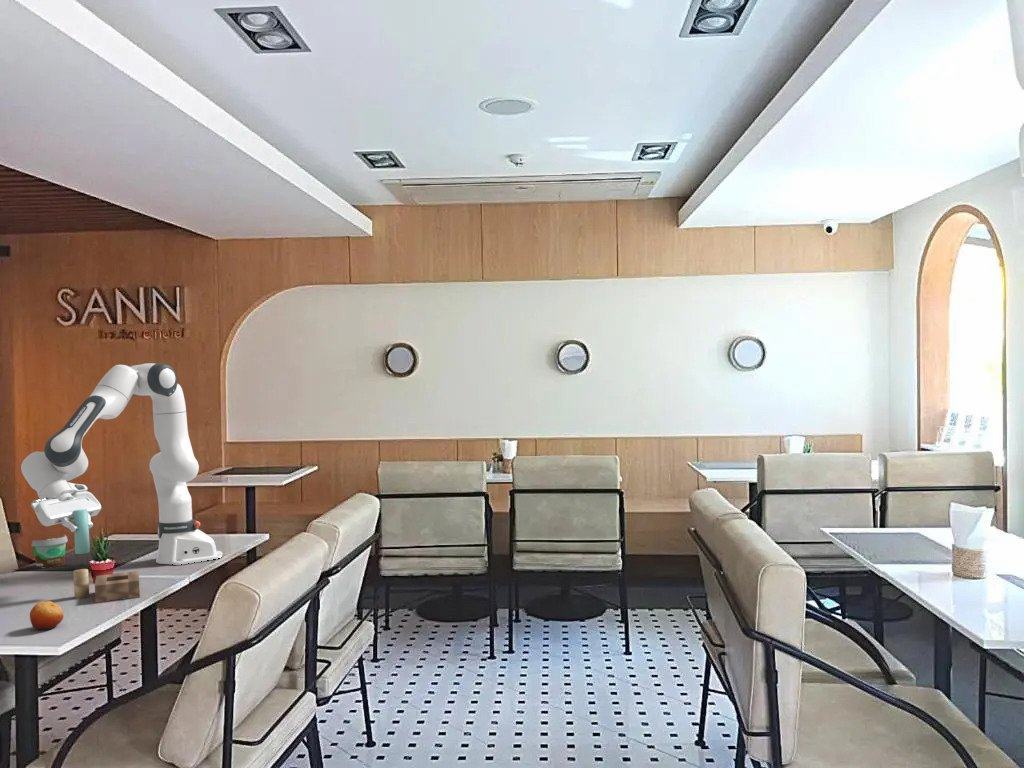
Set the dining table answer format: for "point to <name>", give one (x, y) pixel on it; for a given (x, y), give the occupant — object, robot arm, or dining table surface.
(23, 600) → the dining table surface
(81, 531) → the long pin
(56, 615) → the fruit
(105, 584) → the hole block
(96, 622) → the dining table surface
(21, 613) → the dining table surface
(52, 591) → the dining table surface
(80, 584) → the short pin
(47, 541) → the food container
